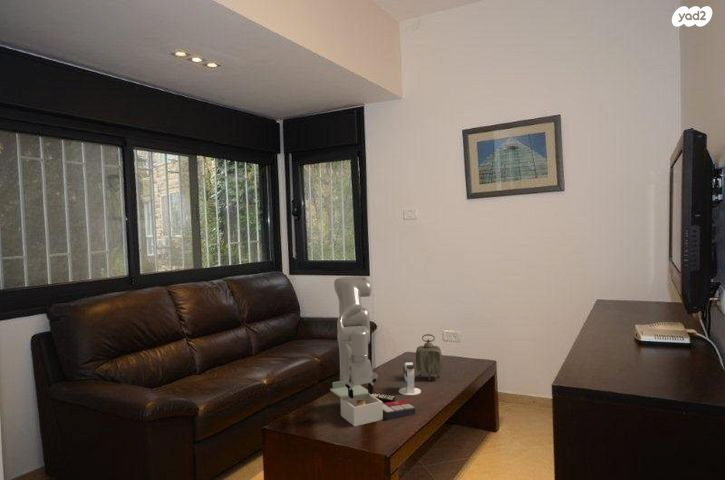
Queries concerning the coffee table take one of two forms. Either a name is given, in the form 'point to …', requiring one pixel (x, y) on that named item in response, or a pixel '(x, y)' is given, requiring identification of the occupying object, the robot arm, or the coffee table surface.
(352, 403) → the box
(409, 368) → the white pedestal stand
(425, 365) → the tabletop clock
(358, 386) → the lid
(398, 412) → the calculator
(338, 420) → the coffee table surface
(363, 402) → the tan cylinder
